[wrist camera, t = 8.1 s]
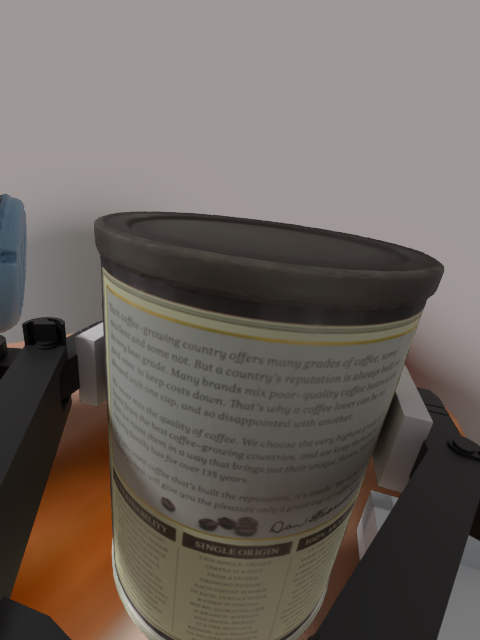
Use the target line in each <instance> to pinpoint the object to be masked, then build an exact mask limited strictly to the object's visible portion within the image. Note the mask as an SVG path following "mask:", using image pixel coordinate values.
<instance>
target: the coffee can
mask: <svg viewBox="0 0 480 640" xmlns="http://www.w3.org/2000/svg"><path fill="white" fill-rule="evenodd" d="M94 233H95V243H96V247H97V249H98V252H99V253H100V258H101V275H102V276H101V277H102V309H103V332H104V356H105V373H106V398H107V412H108V431H109V457H110V479H111V485H110V487H111V500H112V501H111V507H112V530H113V541H112V566H113V575H114V580H115V584H116V588H117V590H118V593H119V596H120V598H121V600H122V603H123V605H124V607H125V609H126V611H127V612H128V614H129V616H130V617H131V619H132V620H133V621H134V623H135V624H136V626H137V627H138V628H139V629H140V631H141V632H142V633H143V634H144V635H145V636H146V637H147V638H148V639H150V640H298V638H299V637H300V636H301V635H302V634H303V632H304V631H305V630H306V629H307V628H308V627H309V626H310V624H311V623H312V621H313V620H314V618H315V616H316V615H317V613H318V611H319V610H320V608H321V605H322V603H323V600H324V597H325V595H326V592H327V587H328V582H329V577H330V574H331V571H332V568H333V565H334V562H335V559H336V556H337V554H338V551H339V548H340V545H341V543H342V540H343V537H344V535H345V533H346V529H347V526H348V523H349V520H350V517H351V514H352V511H353V508H354V506H355V503H356V500H357V498H358V495H359V492H360V489H361V486H362V483H363V480H364V477H365V473H366V470H367V467H368V465H369V462H370V460H371V457H372V454H373V451H374V449H375V446H376V443H377V441H378V438H379V436H380V432H381V429H382V426H383V424H384V421H385V418H386V415H387V412H388V410H389V407H390V404H391V401H392V399H393V396H394V393H395V390H396V388H397V385H398V382H399V380H400V376H401V372H402V370H403V367H404V364H405V361H406V359H407V356H408V352H409V349H410V345H411V343H412V339H413V337H414V335H415V332H416V329H417V326H418V323H419V320H420V317H421V315H422V312H423V309H424V307H425V304H426V301H427V299H428V298H429V297H430V296H432V295H433V294H434V293H435V292H436V290H437V288H438V286H439V283H440V280H441V278H442V275H443V273H444V266H443V265H442V264H441V263H440V262H439V261H437V260H436V259H434V258H432V257H430V256H429V255H427V254H424V253H423V252H420V251H417V250H414V249H411V248H407V247H403V246H400V245H397V244H392V243H388V242H384V241H380V240H375V239H371V238H366V237H361V236H358V235H352V234H347V233H342V232H334V231H330V230H324V229H318V228H311V227H304V226H300V225H293V224H285V223H278V222H271V221H262V220H255V219H246V218H236V217H228V216H218V215H206V214H195V213H176V212H123V213H115V214H110V215H106V216H102V217H99V218H98V219H96V220H95V222H94Z"/></svg>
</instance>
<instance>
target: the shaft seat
mask: <svg viewBox="0 0 480 640" xmlns="http://www.w3.org/2000/svg"><path fill="white" fill-rule="evenodd" d="M397 500H398V498H397V497H393V496H390V495H386V494H383V493H379V492H375V491H372V490H371V492H370V495H369V497H368V500H367V503H366V506H365V508H364V511H363V514H362V517H361V519H360V522H359V525H358V527H357V538H358V548H359V558H360V560H361V559H362V557H363V556H364V554H365V552H366V551H367V549H368V547H369V546H370V544H371V542H372V541H373V539H374V538H375V536H376V534H377V533H378V531H379V529H380V528H381V526H382V525H383V523H384V521H385V520H386V518H387V516H388V515H389V513H390V511H391V510H392V508H393V507H394V505H395V503H396V502H397ZM437 640H480V541H479V540H477V539H475V538H473V537H471V536H468V539H467V543H466V546H465V549H464V552H463V556H462V559H461V562H460V566H459V569H458V572H457V575H456V579H455V582H454V585H453V589H452V592H451V595H450V598H449V602H448V605H447V608H446V612H445V615H444V618H443V621H442V625H441V628H440V631H439V635H438V638H437Z"/></svg>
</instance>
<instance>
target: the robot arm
mask: <svg viewBox="0 0 480 640" xmlns="http://www.w3.org/2000/svg"><path fill="white" fill-rule="evenodd" d="M26 237H27V236H26V214H25V210H24V205H23V203H22V201H21V200H19V199H17V198H13V197H10V196H9V195H7V194H3V195H0V333H3V332H5V331H7V330H9V329H11V328H12V327H14V326H15V325H16V324H17V323H18V321H19V319H20V317H21V313H22V307H23V300H24V290H25V273H26V244H27V239H26ZM22 326H23V333H24V341H25V346H24V348H23V349H20V348H7V345H6V339H5V337H4V336H2V335H0V640H71V639H70V638H69V637H68V636H67V635H66V634H65V633H64V631H63V630H62V629H61V628H60V627H59V626H58V625H57V624H56V623H55V622H54V621H53V620H52V619H51V617H50V616H47V615H45V614H43V613H40V612H38V611H36V610H34V609H31V608H29V607H27V606H24V605H22V604H20V603H18V602H15V601H13V600H11V599H10V597H11V593H12V590H13V586H14V583H15V580H16V577H17V574H18V571H19V568H20V565H21V561H22V558H23V555H24V552H25V549H26V546H27V543H28V539H29V536H30V533H31V530H32V527H33V524H34V521H35V517H36V514H37V511H38V508H39V505H40V502H41V499H42V496H43V492H44V489H45V486H46V483H47V480H48V477H49V474H50V470H51V467H52V464H53V461H54V458H55V455H56V452H57V448H58V445H59V442H60V439H61V436H62V433H63V430H64V427H65V423H66V420H67V417H68V414H69V411H70V408H71V405H72V400H71V394H72V393H74V392H75V391H76V390H78V389H79V395H80V402H82V403H86V404H89V405H93V406H97V407H98V406H99V405H100V404H101V403H103V402H104V401H105V400H106V399H107V398H106V373H105V356H104V332H103V321H100V322H96V323H95V324H92V325H90V326H89V327H88V328H87V327H86V328H85V329H82V330H81V331H79V332H77V333H75V334H73V335H71V336H69V337H67V338H66V332H65V322H64V321H63V320H62V319H59V318H52V317H42V318H36V319H31V320H28V321H26V322H25V323H23V324H22ZM372 456H373V461H374V467H375V472H376V477H377V483H378V486H379V487H383V488H386V489H390V490H393V491H397V492H401V493H402V494H401V495H400V497H399V498H398V500H397V502H396V503H395V505H394V507H393V508H392V510H391V511H390V513H389V515H388V516H387V518H386V520H385V521H384V523H383V525H382V526H381V528H380V529H379V531H378V533H377V534H376V536H375V538H374V539H373V541H372V542H371V544H370V546H369V547H368V549H367V551H366V552H365V554H364V556H363V557H362V559H361V560H360V562H359V564H358V565H357V567H356V569H355V570H354V572H353V573H352V575H351V577H350V578H349V580H348V582H347V583H346V585H345V587H344V588H343V590H342V591H341V593H340V595H339V596H338V598H337V600H336V601H335V603H334V604H333V606H332V608H331V609H330V611H329V613H328V614H327V616H326V618H325V619H324V621H323V622H322V624H321V626H320V627H319V629H318V630H317V632H316V633H315V634H314V636H310V637H309V638H308V639H307V640H437V638H438V635H439V631H440V628H441V625H442V621H443V618H444V615H445V612H446V608H447V605H448V602H449V598H450V595H451V592H452V589H453V585H454V582H455V579H456V575H457V572H458V569H459V566H460V562H461V559H462V556H463V552H464V549H465V546H466V543H467V539H468V536H471V537H473V538H475V539H477V540H479V541H480V446H479V445H477V444H476V443H474V442H473V441H471V440H469V439H467V438H465V437H463V436H461V434H460V433H459V431H458V429H457V427H456V426H455V424H454V422H453V421H452V419H451V417H449V414H448V412H447V410H446V409H445V407H444V405H443V404H442V402H441V400H440V399H439V398H438V397H437V396H436V395H435V394H433V393H432V392H431V391H429V390H426V389H422V388H417V387H416V386H415V384H414V382H413V380H412V378H411V376H410V374H409V372H408V370H407V368H406V366H405V364H404V367H403V370H402V372H401V376H400V380H399V382H398V385H397V388H396V390H395V393H394V396H393V399H392V401H391V404H390V407H389V410H388V412H387V415H386V418H385V421H384V424H383V426H382V429H381V432H380V436H379V438H378V441H377V443H376V446H375V449H374V451H373V454H372ZM409 479H410V480H409Z"/></svg>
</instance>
